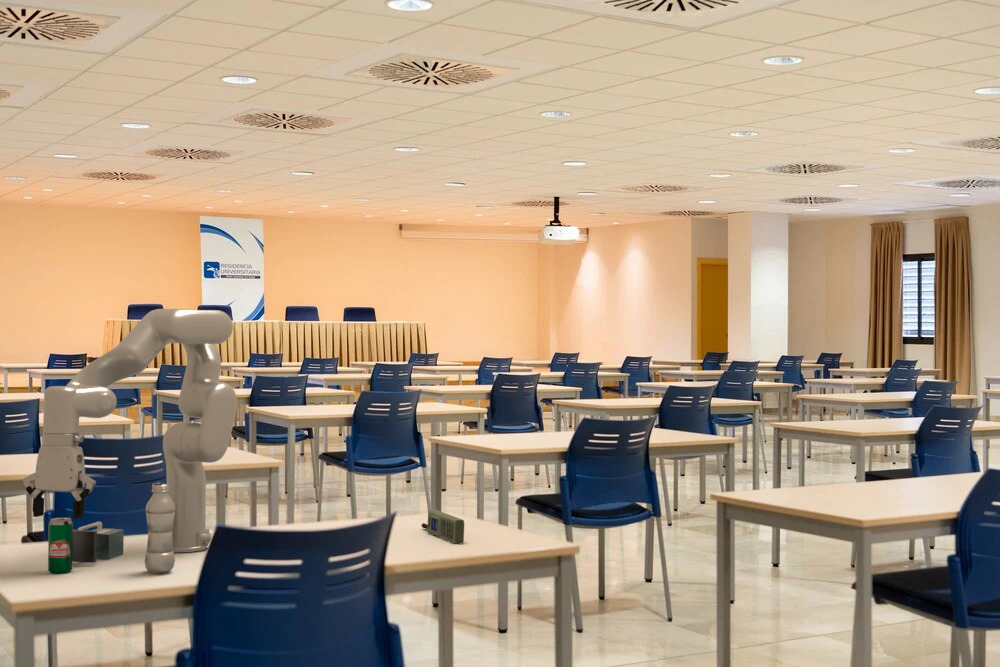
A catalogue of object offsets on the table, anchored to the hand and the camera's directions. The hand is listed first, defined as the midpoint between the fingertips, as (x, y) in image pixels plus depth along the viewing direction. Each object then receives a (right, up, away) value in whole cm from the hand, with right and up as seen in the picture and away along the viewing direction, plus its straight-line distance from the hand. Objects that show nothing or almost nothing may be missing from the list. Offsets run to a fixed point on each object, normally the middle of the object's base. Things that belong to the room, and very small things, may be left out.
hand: (58, 517), depth 251 cm
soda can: (0, -13, 0) cm, 13 cm away
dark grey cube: (+3, -13, +19) cm, 23 cm away
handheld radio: (+84, -14, +49) cm, 98 cm away
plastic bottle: (+23, -13, +1) cm, 26 cm away
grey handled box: (+2, -12, +13) cm, 17 cm away
